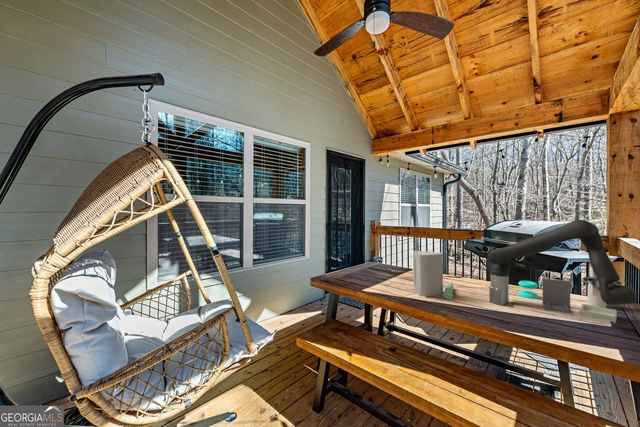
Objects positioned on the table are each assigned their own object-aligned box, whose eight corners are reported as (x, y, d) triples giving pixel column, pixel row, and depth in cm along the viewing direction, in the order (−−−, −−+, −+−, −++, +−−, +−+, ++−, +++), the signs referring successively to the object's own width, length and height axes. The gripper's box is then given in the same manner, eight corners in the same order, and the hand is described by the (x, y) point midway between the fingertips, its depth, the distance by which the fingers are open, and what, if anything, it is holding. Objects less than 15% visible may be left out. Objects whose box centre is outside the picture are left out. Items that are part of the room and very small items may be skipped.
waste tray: (615, 324, 131) (615, 317, 131) (578, 316, 141) (578, 309, 141) (616, 316, 140) (616, 310, 140) (582, 309, 150) (582, 303, 150)
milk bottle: (609, 309, 149) (609, 274, 149) (590, 307, 153) (590, 272, 153) (603, 305, 156) (603, 271, 155) (585, 302, 160) (585, 270, 160)
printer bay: (574, 316, 141) (574, 286, 141) (545, 311, 148) (544, 283, 148) (569, 309, 151) (569, 281, 151) (542, 304, 158) (542, 278, 158)
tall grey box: (408, 294, 183) (407, 253, 182) (415, 288, 194) (414, 250, 194) (437, 299, 171) (437, 256, 170) (443, 293, 183) (442, 252, 182)
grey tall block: (606, 297, 136) (606, 266, 136) (592, 295, 139) (592, 265, 139) (602, 294, 141) (603, 264, 141) (589, 292, 144) (589, 263, 144)
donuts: (515, 279, 177) (532, 280, 175) (515, 294, 177) (532, 295, 175) (523, 284, 167) (541, 284, 165) (523, 299, 167) (541, 300, 165)
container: (447, 280, 194) (445, 288, 172) (455, 283, 192) (454, 293, 170) (443, 287, 195) (441, 296, 173) (452, 291, 193) (451, 301, 171)
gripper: (628, 281, 124) (615, 273, 138) (585, 276, 133) (578, 270, 146) (628, 296, 124) (615, 287, 138) (585, 291, 133) (578, 283, 147)
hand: (596, 278), depth 142 cm, fingers closed on grey tall block, 5 cm apart
